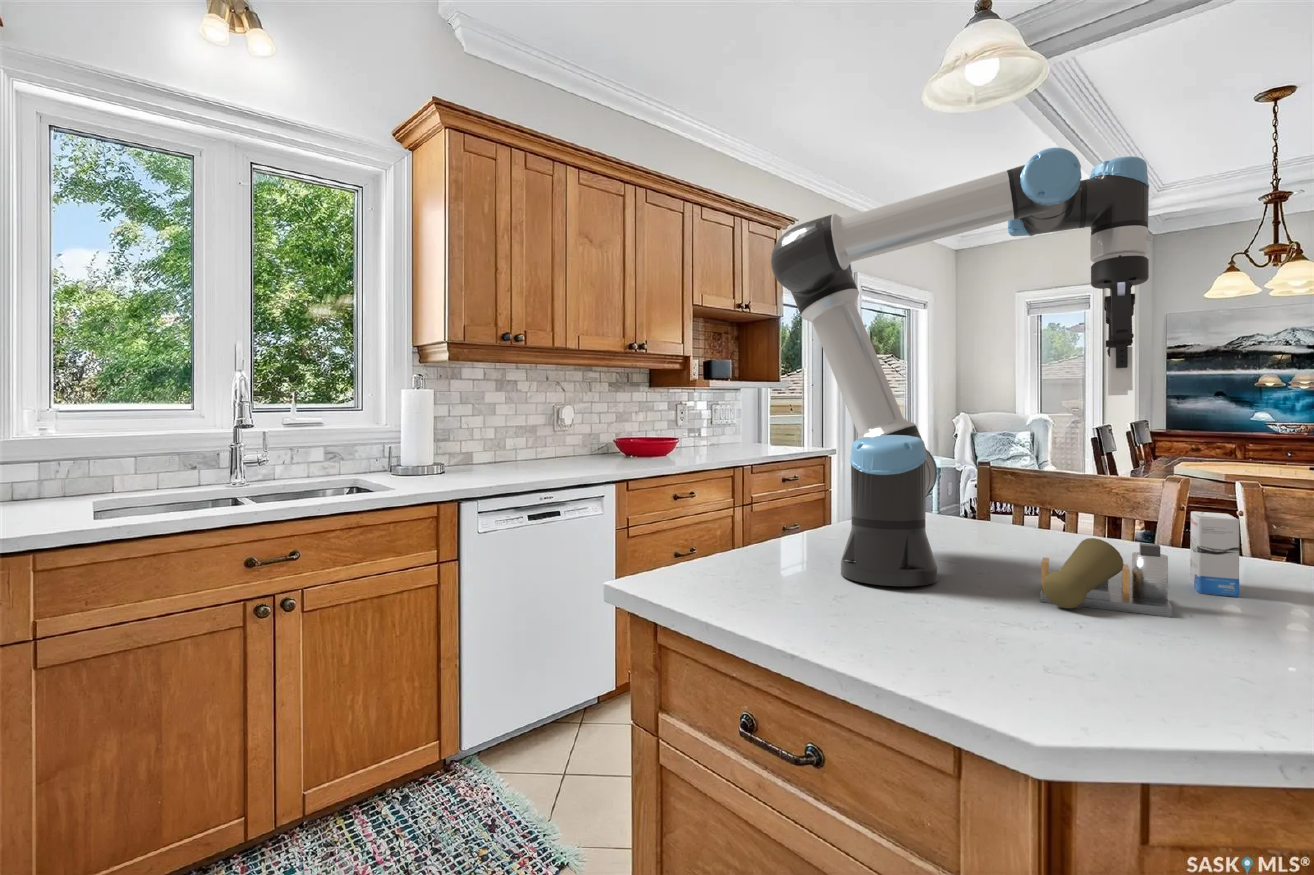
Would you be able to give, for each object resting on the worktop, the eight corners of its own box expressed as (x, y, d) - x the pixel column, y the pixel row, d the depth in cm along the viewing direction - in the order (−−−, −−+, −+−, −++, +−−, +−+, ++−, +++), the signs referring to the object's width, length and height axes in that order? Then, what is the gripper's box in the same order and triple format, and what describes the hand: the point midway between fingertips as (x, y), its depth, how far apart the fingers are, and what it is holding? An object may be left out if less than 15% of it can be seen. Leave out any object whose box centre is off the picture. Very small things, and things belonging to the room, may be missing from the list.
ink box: (1241, 598, 96) (1241, 518, 96) (1197, 594, 99) (1197, 516, 99) (1228, 586, 103) (1228, 512, 103) (1188, 583, 106) (1188, 510, 106)
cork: (1095, 578, 96) (1052, 617, 91) (1069, 542, 97) (1026, 579, 93) (1133, 571, 91) (1090, 613, 86) (1105, 534, 92) (1061, 572, 87)
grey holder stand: (1040, 601, 94) (1040, 542, 94) (1044, 586, 103) (1044, 532, 103) (1172, 617, 86) (1172, 552, 86) (1163, 599, 95) (1163, 540, 95)
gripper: (1155, 235, 92) (1155, 387, 92) (1142, 272, 112) (1142, 395, 112) (1091, 244, 96) (1091, 389, 96) (1090, 278, 116) (1090, 397, 117)
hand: (1119, 393), depth 104 cm, fingers open, 13 cm apart
